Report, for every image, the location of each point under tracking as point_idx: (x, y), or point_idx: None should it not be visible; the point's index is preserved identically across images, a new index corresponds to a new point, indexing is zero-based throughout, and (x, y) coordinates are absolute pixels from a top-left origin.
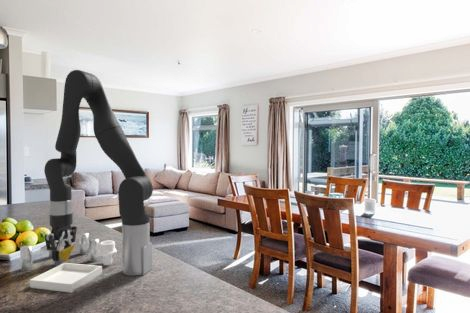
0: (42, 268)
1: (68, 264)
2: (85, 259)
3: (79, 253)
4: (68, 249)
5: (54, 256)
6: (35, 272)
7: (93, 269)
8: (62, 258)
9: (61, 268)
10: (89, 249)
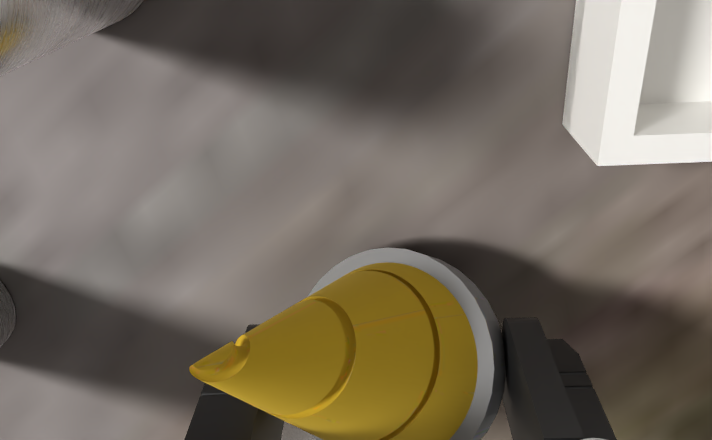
0: None
1: (643, 50)
2: (116, 119)
3: (6, 338)
4: (337, 369)
5: (588, 394)
6: (685, 380)
7: None
8: (451, 308)
9: (686, 113)
10: (49, 22)
